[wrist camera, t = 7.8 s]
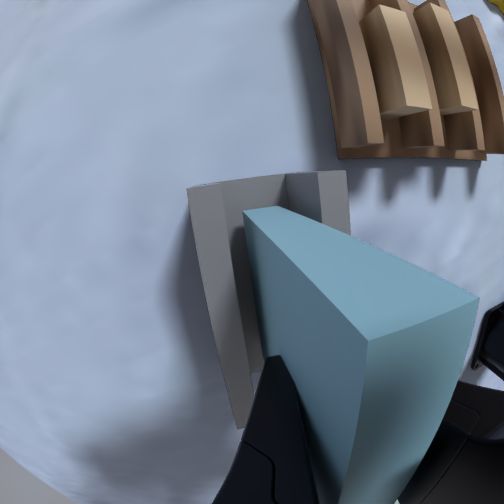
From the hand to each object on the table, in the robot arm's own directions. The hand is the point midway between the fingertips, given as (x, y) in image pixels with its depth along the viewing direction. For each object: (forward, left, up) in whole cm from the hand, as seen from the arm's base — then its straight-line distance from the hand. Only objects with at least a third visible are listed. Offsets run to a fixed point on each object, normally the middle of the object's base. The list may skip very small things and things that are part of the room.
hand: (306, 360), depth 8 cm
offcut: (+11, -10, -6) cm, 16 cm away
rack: (+11, -11, -7) cm, 17 cm away
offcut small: (+10, -7, -6) cm, 13 cm away
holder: (0, 0, -7) cm, 7 cm away
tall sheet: (0, 0, -5) cm, 5 cm away
